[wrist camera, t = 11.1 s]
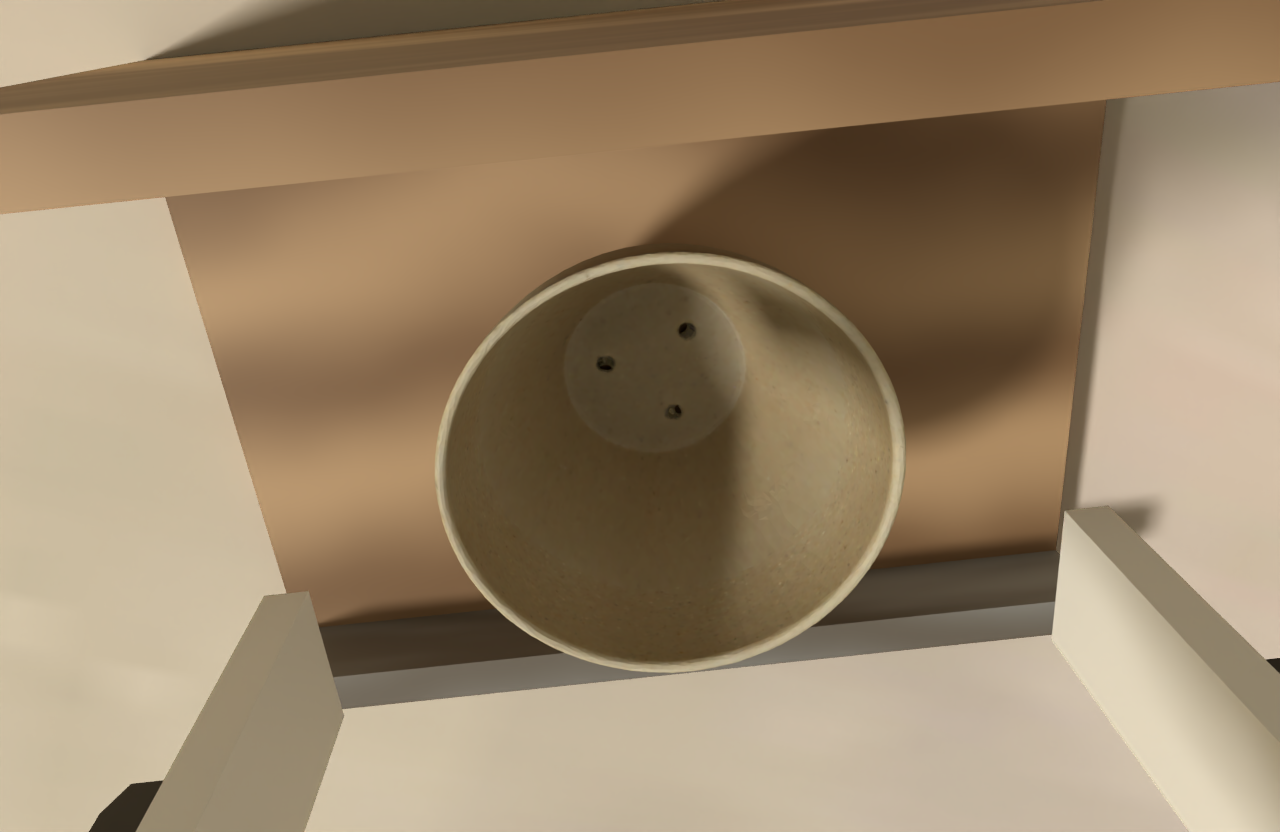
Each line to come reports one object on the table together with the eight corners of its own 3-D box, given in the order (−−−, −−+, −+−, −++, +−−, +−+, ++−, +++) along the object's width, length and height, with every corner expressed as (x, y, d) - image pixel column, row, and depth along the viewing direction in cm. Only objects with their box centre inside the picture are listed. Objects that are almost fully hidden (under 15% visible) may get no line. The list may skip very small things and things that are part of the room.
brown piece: (1038, 564, 31) (1309, 920, 19) (315, 639, 31) (147, 1044, 19) (1101, -39, 24) (1611, -53, 12) (142, 60, 23) (-310, 146, 12)
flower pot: (898, 279, 26) (1001, 381, 19) (724, 560, 29) (762, 726, 23) (563, 112, 24) (552, 164, 17) (420, 438, 27) (365, 584, 21)
